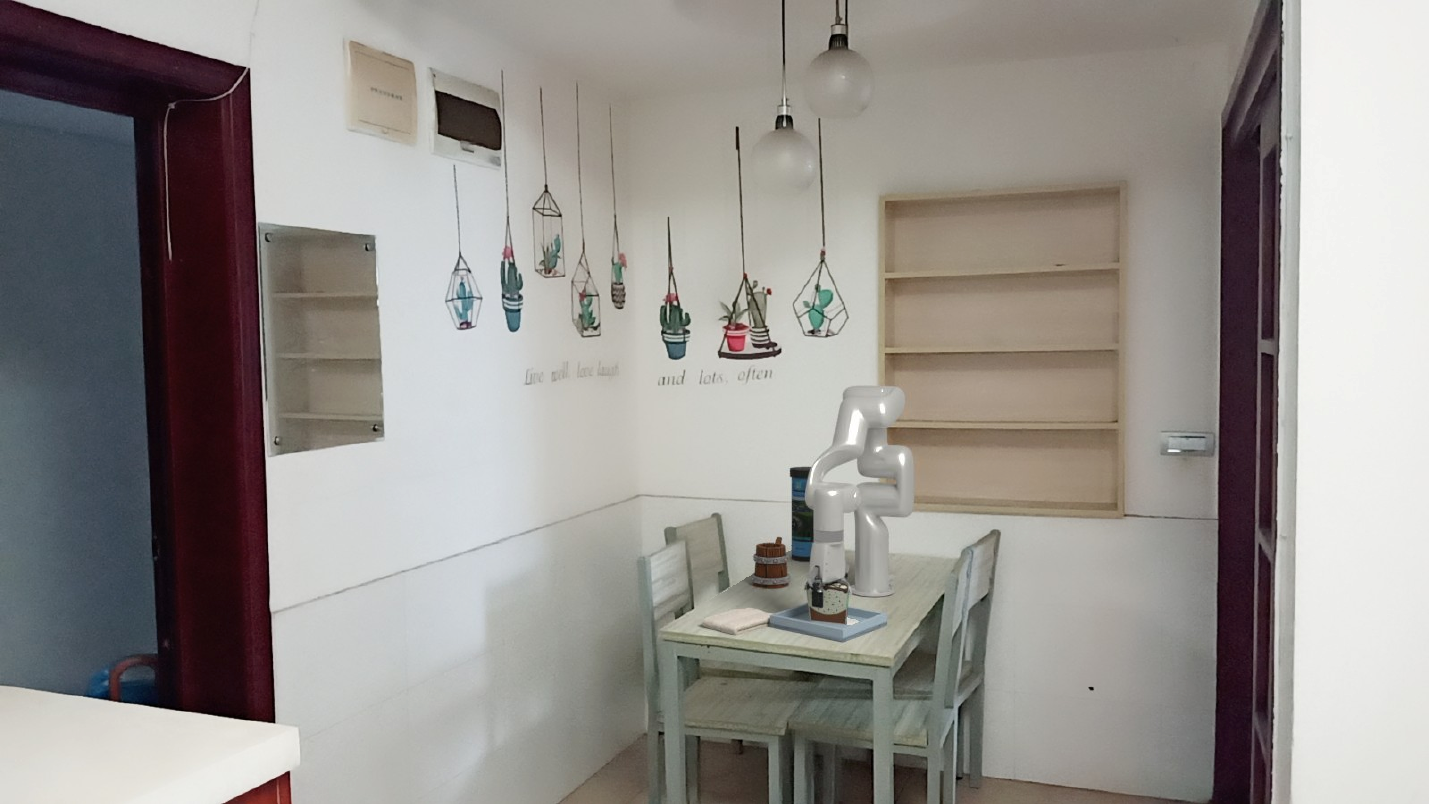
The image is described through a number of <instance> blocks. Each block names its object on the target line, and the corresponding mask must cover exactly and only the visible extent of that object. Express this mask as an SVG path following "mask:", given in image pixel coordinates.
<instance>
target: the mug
mask: <svg viewBox="0 0 1429 804" xmlns="http://www.w3.org/2000/svg"><path fill="white" fill-rule="evenodd" d="M782 540H783V537H782V536H777V537H776V538H775V542H762V543H757V544H756V546H755V553H754V554H753V556H752V559H753V560H752V561H753V562H754V573H752V574H751V581H752V585H753V586H755V587H757V588H760V589H770V590H771V589H772V590H773V589H782V588H786V587H788V586H789V583H790V582H791V579H792V576H790V575H791V574H790V573H788V563H787V562H789V560H790V556H789V554H787V549H786V544H784V543H782Z"/></svg>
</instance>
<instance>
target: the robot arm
mask: <svg viewBox="0 0 1429 804" xmlns="http://www.w3.org/2000/svg"><path fill="white" fill-rule="evenodd" d="M905 406H906V396H905V392H904V391H903V390H902V388H900V387H899V386H896V385H895V386H893V385H852V386H849V387H846V388H845V389H844V390H843V392H842V401H841V402H840V405H839V409H838V413H837V418H836V424H835V428H834V434H833V438H832V443H831V445H830V446H829V447H828V448H827V449H826V450H824V452H822V453H821V454H820V455H819V456H818V457H817V459H815V461H814V462H813V464H812V465H811V466H810V467H811V469H810V472H809V475H808V480H807V485H806V490H805V502H806V505H807V506H808V507H809V508H810V509H812V510H814V543H813V544H812V549H811V556H810V562H809V574H808V575H807V576H806V580H807V582H808V583H809V584H808V585H809V587H810V591H812V607H817V608H823V592H822V589H823V587H824V585H825V583H830V582H833V581H836V580H839V579H841V580H844V581H846V582H848V581H847V579H848V576H849V570H850V565H849V564H848V563H847V562H846V550H845V543H844V541H845V539H844V537H845V536H844V535H845V533H844V531H845V529H844V526H845V525H844V521H845V520H844V519H845V518H844V514H849V513H853V515H854V584H853V585H852V584H851V585H850V587H851V591H852V594H853V595H856V596H860V597H873V598H874V597H876V598H877V597H878V598H879V597H887V596H890V595H893V594H894V593H895V589H894V586H891V585H890V582H893V581H895V580H896V575H894V574H893V573H890V574H889V563H890V561H889V557H890V555H889V545H890V544H889V541H890V540H889V538H890V537H889V533H890V532H889V529H888V526H887V525H886V523H885V522H884V520H883V519H882V517H888V518H909V517H910V516H911V515H912V513H913V512H914V508H915V507H914V506H915V461H914V455H913V452H912V449H910V448H909V447H908V446H906V445H898V444H897V445H896V444H889V443H888V433H887V432H888V429H887V428H889V427H891V426H893V424H894V423H895V422H896V421H897V420H898V419H899V418H900V416H901V415H902V414H903V413H904V409H905ZM854 460H856V464H857V471H858V473H859V474H860V476H862V477H865V478H869V479H870V478H871V479H888V480H889V479H890V480H894V481H895V483H893V482H890V483H889V482H876V481H866V482H860V483H858V484H856V485H855V484H852V483H848V482H847V483H846V482H845V483H844V482H831V481H823V479H824V478H825V476H826V475H827V474H828V472H830V471H831V470H833V469H834V468H836V467H839V466H842V465H843V464H846V463H849V462H852V461H854ZM821 579H822V580H821ZM817 583H820V585H819V586H818V585H817Z"/></svg>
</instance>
